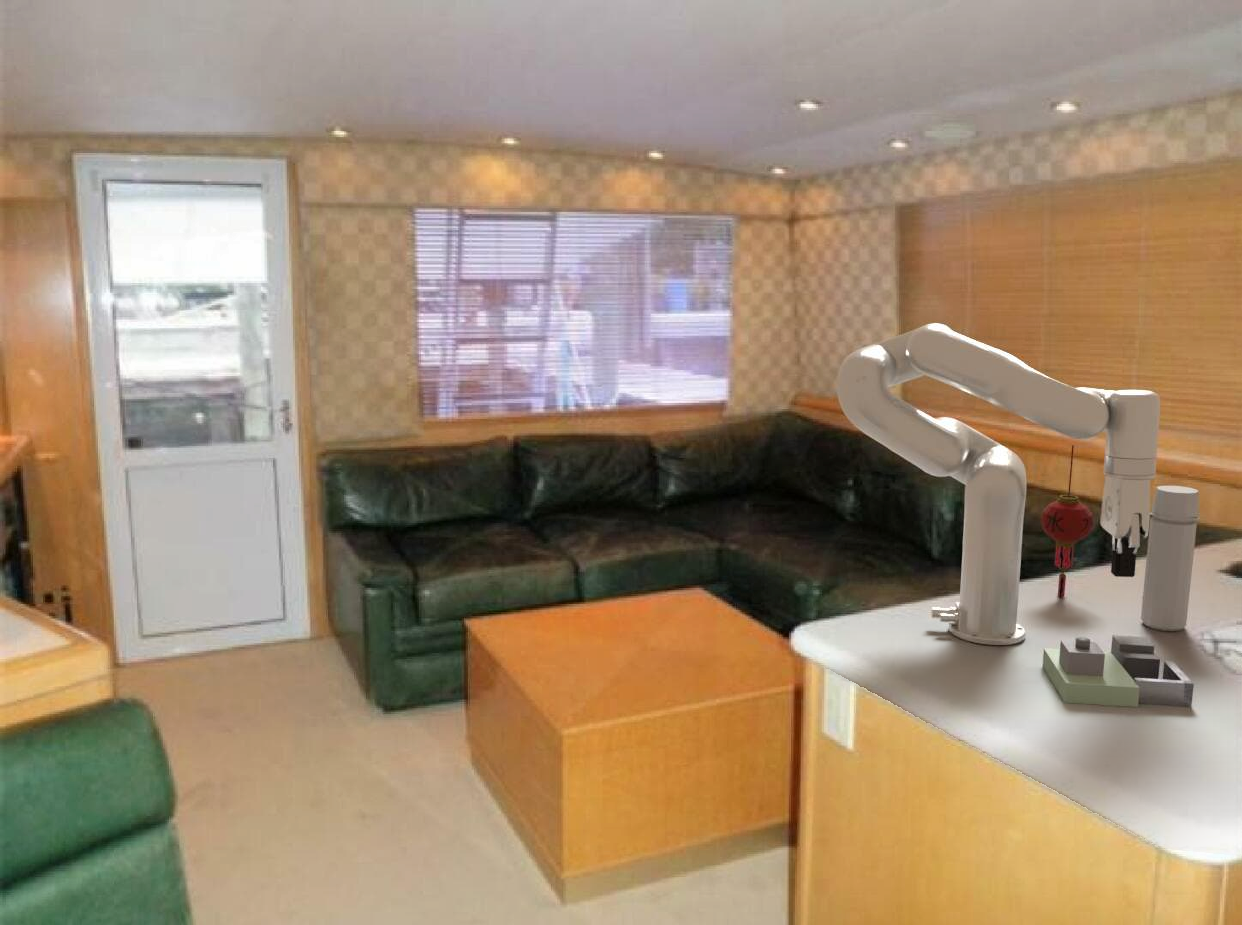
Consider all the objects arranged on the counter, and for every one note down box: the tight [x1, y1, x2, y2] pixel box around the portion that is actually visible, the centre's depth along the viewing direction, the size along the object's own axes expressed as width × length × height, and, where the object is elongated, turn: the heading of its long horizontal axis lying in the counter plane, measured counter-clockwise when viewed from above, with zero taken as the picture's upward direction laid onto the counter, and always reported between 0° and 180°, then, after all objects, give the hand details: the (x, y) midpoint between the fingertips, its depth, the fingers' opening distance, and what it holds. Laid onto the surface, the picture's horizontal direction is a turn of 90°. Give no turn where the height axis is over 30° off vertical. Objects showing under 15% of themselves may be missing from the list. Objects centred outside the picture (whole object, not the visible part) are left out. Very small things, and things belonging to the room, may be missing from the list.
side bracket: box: [1134, 660, 1195, 707], centre depth 148 cm, size 8×8×4 cm
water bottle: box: [1140, 485, 1200, 632], centre depth 175 cm, size 9×8×25 cm
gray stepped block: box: [1110, 634, 1161, 680], centre depth 155 cm, size 5×7×5 cm
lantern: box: [1040, 444, 1095, 598], centre depth 191 cm, size 10×10×30 cm
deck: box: [1042, 636, 1140, 708], centre depth 151 cm, size 10×14×8 cm
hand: (1122, 575), depth 164 cm, fingers closed
